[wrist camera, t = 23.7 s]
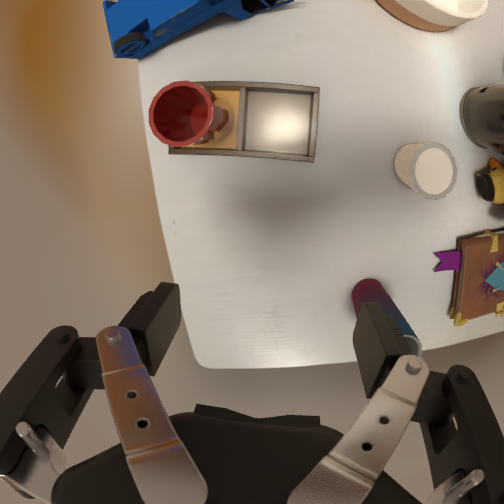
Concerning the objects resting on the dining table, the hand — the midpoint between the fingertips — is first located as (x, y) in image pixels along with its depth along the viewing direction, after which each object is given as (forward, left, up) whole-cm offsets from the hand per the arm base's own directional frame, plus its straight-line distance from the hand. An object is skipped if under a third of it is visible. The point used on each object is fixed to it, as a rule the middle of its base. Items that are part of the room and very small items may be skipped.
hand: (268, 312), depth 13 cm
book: (-38, +9, -28) cm, 48 cm away
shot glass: (-18, -6, -28) cm, 34 cm away
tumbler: (+9, -9, -27) cm, 30 cm away
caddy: (+5, -9, -28) cm, 30 cm away
